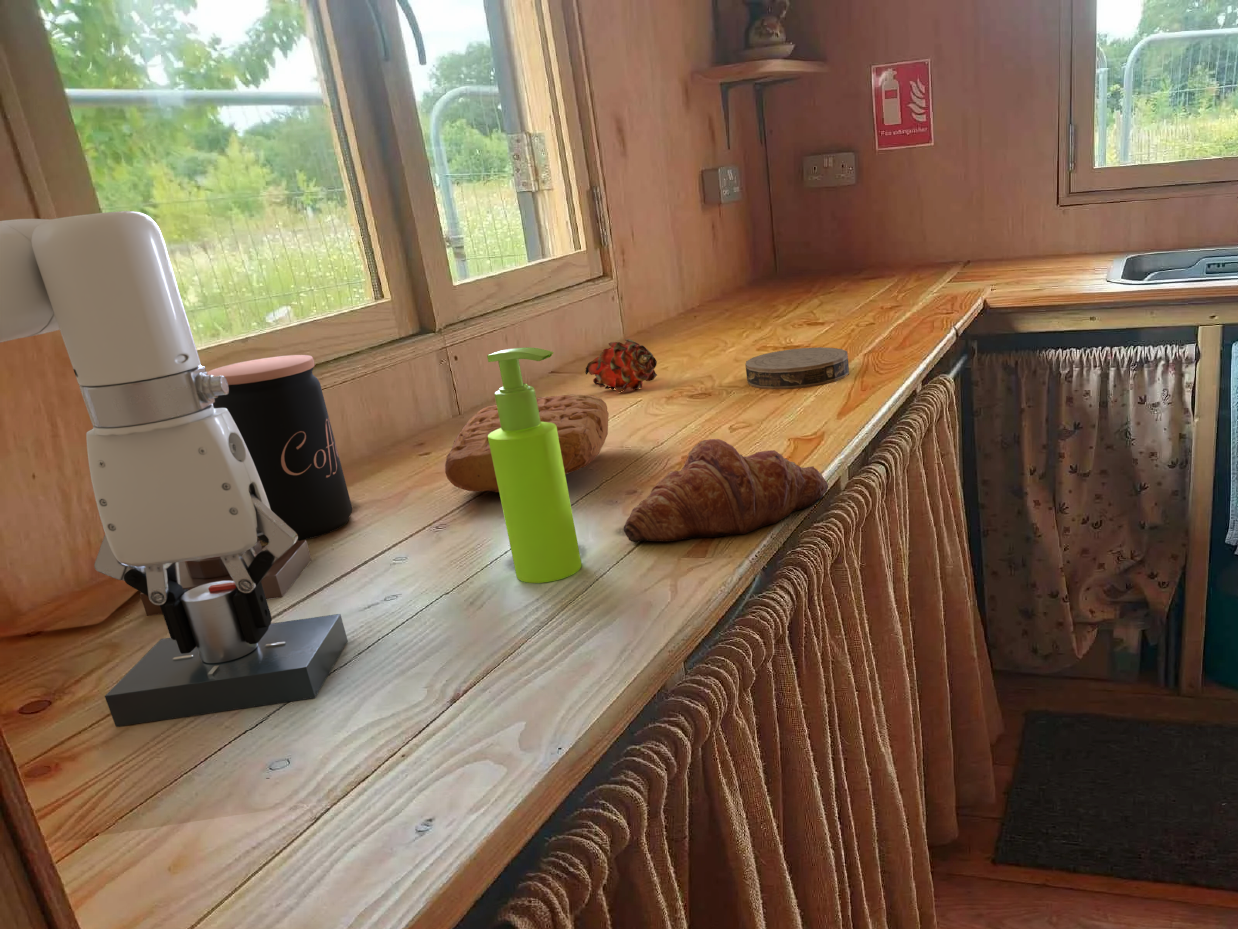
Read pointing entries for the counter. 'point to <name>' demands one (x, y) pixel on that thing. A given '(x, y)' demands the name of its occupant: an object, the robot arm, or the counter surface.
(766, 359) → the tin can
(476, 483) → the bread loaf
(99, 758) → the counter surface
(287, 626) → the panel
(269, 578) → the block
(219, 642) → the tap knob
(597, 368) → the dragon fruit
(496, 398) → the soap dispenser
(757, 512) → the pastry
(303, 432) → the coffee jar
